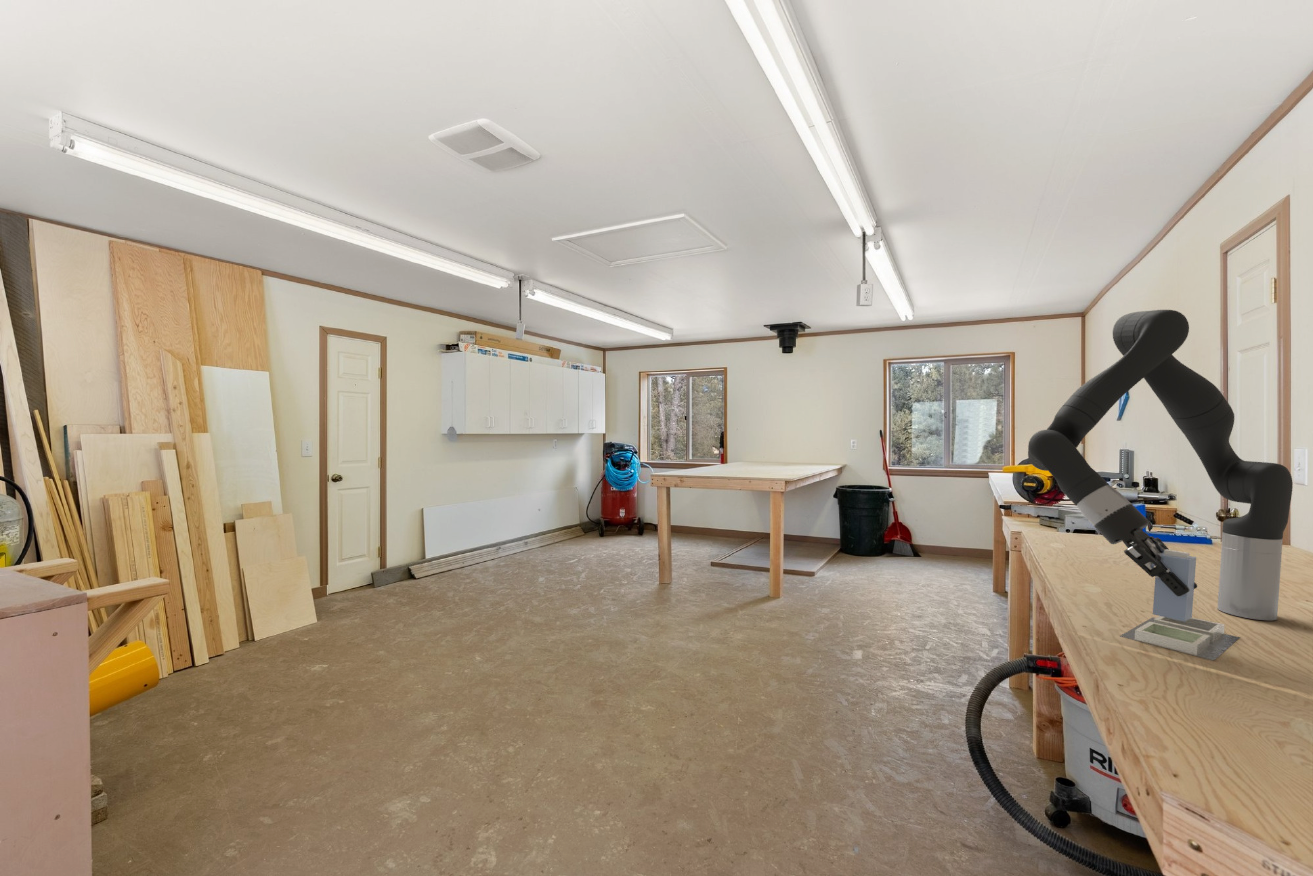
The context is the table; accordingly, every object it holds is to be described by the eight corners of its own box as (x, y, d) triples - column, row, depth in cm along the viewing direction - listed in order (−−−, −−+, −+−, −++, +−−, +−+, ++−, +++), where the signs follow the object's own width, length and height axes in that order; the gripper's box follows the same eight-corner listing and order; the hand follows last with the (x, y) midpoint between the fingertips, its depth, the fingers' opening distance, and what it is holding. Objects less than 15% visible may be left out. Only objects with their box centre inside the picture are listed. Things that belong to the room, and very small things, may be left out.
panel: (1152, 620, 122) (1153, 608, 122) (1240, 640, 111) (1240, 627, 111) (1119, 639, 110) (1120, 626, 110) (1213, 664, 100) (1214, 650, 99)
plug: (1160, 610, 110) (1164, 547, 110) (1191, 617, 107) (1196, 552, 106) (1152, 614, 108) (1157, 550, 107) (1185, 621, 104) (1189, 555, 104)
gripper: (1116, 504, 108) (1199, 586, 99) (1141, 500, 117) (1219, 575, 107) (1080, 528, 113) (1156, 608, 103) (1106, 522, 121) (1179, 596, 112)
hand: (1188, 591), depth 106 cm, fingers closed on plug, 4 cm apart
